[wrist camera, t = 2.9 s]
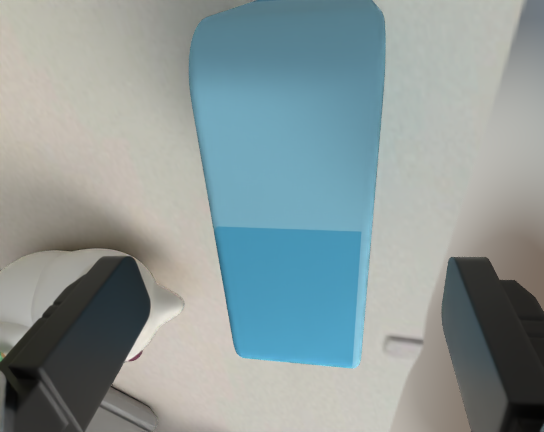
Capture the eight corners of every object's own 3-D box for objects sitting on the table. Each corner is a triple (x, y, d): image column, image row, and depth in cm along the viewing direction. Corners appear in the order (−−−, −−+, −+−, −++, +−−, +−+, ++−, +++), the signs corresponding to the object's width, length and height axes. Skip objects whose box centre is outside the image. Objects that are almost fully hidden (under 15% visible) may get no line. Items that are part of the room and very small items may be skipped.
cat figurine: (-76, 386, 25) (108, 416, 19) (-84, 261, 25) (98, 256, 19) (55, 338, 34) (206, 350, 28) (49, 246, 34) (199, 240, 28)
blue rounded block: (268, -5, 18) (173, 24, 8) (366, -12, 18) (391, 12, 8) (281, 211, 25) (237, 376, 15) (354, 213, 24) (359, 389, 14)
